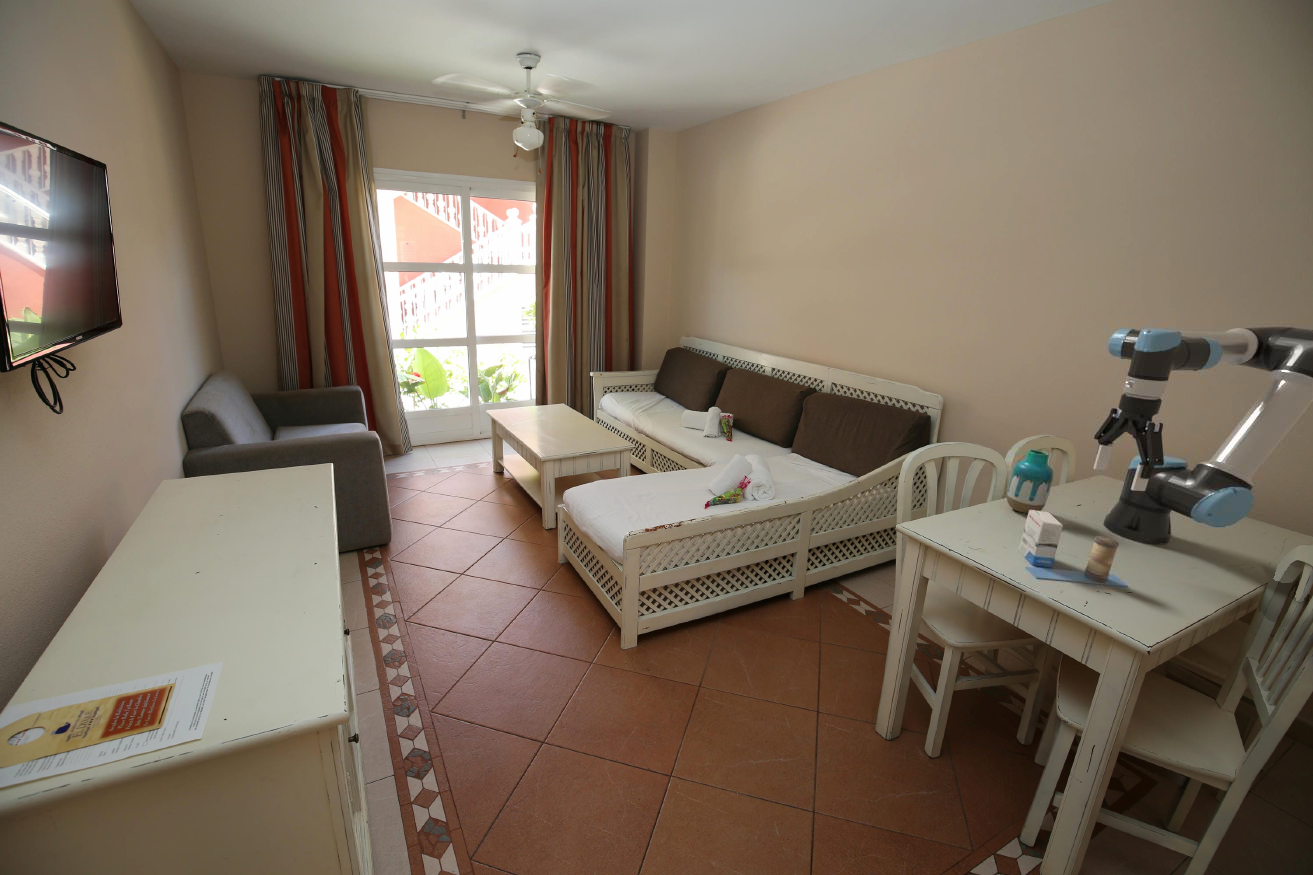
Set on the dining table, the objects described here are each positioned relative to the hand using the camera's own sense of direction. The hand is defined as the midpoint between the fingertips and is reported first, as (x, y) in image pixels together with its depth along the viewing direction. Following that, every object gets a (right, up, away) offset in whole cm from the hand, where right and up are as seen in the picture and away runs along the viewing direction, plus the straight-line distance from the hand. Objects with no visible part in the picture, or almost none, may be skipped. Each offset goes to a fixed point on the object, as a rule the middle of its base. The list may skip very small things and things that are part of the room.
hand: (1117, 479), depth 143 cm
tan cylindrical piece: (-8, -24, -3) cm, 25 cm away
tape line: (-12, -23, -2) cm, 27 cm away
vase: (-1, -12, +35) cm, 37 cm away
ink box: (-17, -21, +6) cm, 28 cm away
